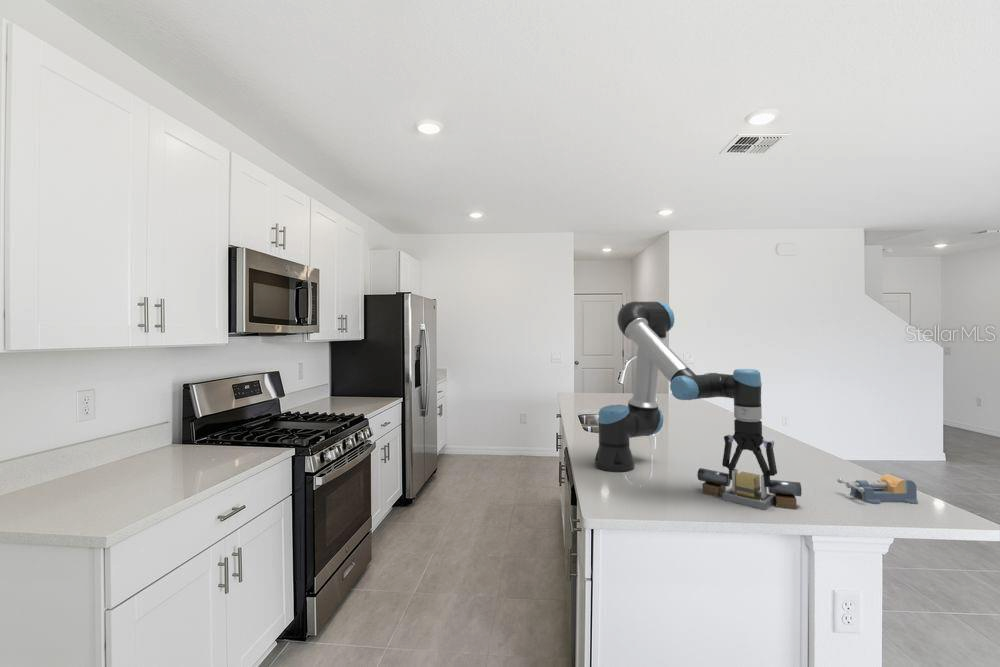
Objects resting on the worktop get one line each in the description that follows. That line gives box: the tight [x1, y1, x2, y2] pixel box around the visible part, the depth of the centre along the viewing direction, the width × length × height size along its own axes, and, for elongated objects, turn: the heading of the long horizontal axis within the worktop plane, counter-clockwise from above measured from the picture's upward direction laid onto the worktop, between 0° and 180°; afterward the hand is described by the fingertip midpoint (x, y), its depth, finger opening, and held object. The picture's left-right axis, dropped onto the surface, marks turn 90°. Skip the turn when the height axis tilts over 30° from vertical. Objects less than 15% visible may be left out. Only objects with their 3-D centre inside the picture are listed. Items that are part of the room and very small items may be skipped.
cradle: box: [722, 487, 775, 511], centre depth 142 cm, size 12×10×2 cm
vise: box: [836, 473, 919, 505], centre depth 143 cm, size 18×10×7 cm, turn 88°
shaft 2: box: [767, 479, 802, 510], centre depth 139 cm, size 8×6×7 cm
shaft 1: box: [696, 467, 732, 498], centre depth 150 cm, size 9×6×7 cm, turn 43°
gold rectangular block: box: [735, 471, 761, 501], centre depth 142 cm, size 5×5×8 cm
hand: (749, 493), depth 142 cm, fingers open, 8 cm apart
